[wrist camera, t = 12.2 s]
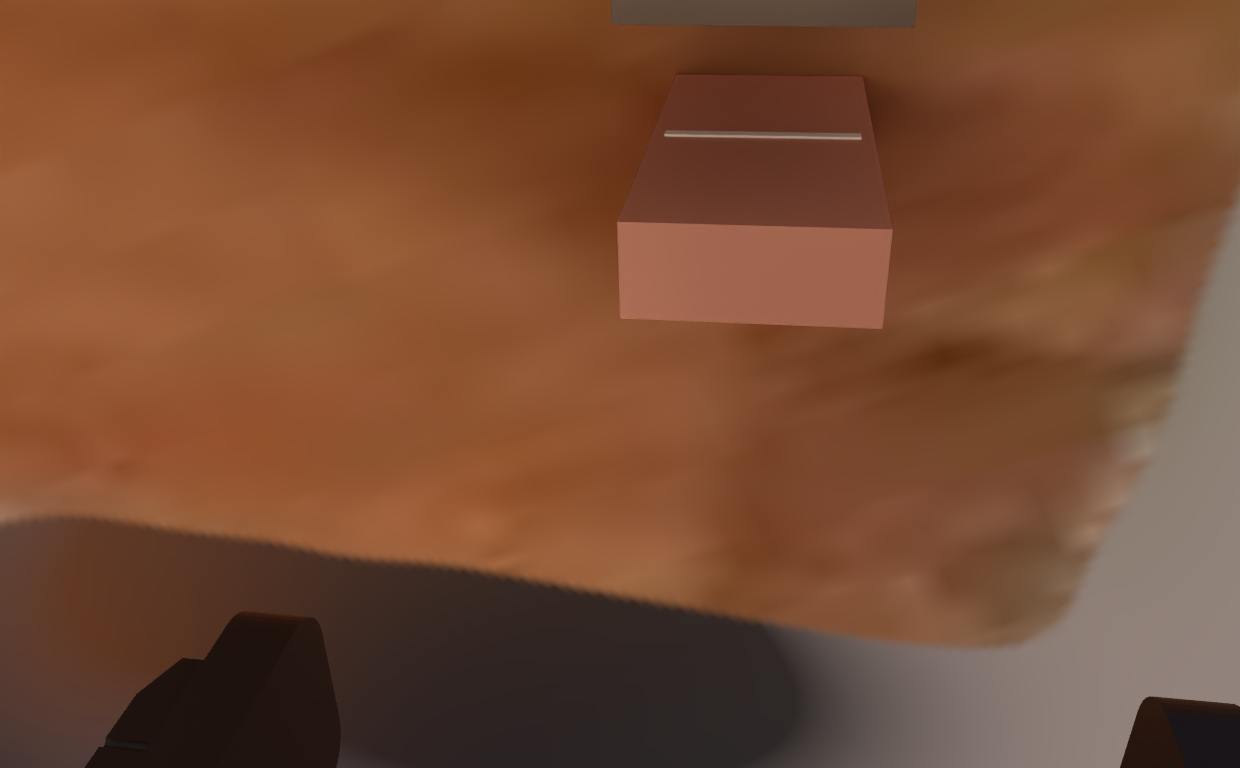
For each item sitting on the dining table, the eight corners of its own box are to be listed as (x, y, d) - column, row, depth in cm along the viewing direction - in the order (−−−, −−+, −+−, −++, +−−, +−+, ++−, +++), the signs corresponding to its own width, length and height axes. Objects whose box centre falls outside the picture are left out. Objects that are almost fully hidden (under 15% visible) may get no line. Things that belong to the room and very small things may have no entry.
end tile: (676, 72, 29) (617, 219, 20) (862, 74, 29) (892, 226, 19) (675, 147, 30) (620, 320, 21) (856, 150, 30) (882, 331, 20)
